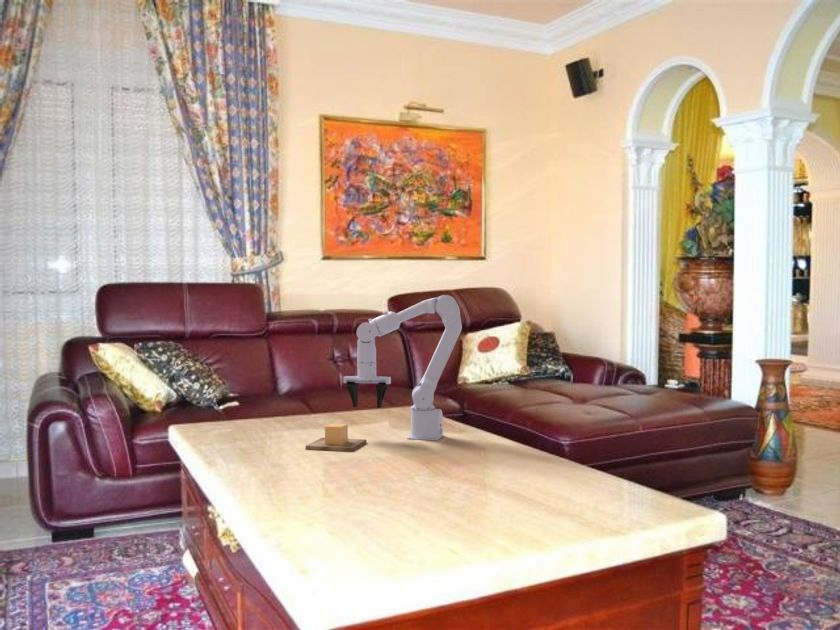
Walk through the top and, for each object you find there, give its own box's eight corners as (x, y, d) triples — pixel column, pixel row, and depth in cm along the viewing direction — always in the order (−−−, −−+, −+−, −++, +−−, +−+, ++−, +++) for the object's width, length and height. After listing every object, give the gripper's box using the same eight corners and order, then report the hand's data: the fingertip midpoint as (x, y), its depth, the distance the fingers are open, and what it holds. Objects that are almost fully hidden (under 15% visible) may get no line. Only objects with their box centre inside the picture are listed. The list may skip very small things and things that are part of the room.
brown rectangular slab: (366, 442, 217) (366, 426, 217) (352, 451, 205) (352, 434, 205) (322, 441, 221) (321, 425, 221) (305, 449, 209) (305, 432, 209)
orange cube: (347, 441, 215) (347, 424, 215) (341, 444, 210) (341, 427, 210) (331, 440, 216) (331, 423, 216) (325, 443, 211) (324, 426, 211)
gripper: (339, 363, 222) (340, 408, 222) (385, 363, 218) (386, 409, 218) (347, 361, 228) (348, 404, 229) (392, 361, 225) (393, 406, 225)
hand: (367, 407), depth 224 cm, fingers open, 7 cm apart
